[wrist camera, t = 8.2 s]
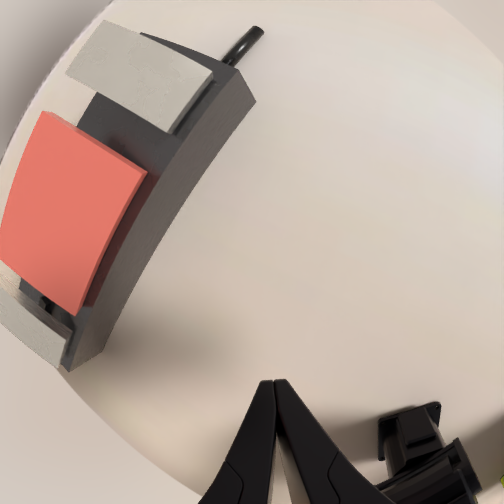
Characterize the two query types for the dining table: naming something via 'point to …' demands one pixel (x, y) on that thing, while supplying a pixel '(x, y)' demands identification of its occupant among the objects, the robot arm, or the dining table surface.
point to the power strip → (143, 155)
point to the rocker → (64, 209)
